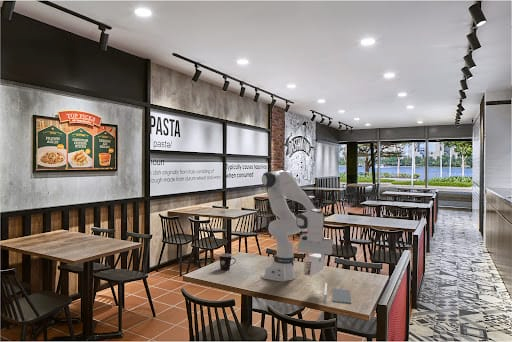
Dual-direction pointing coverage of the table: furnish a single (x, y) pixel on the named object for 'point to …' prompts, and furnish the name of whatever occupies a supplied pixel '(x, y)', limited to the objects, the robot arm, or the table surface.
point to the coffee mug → (225, 261)
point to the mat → (341, 296)
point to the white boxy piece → (313, 264)
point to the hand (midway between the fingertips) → (314, 260)
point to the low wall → (325, 292)
